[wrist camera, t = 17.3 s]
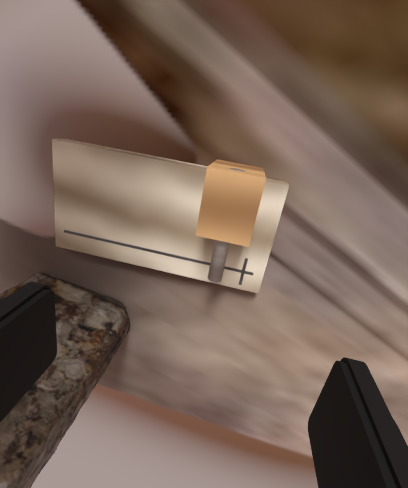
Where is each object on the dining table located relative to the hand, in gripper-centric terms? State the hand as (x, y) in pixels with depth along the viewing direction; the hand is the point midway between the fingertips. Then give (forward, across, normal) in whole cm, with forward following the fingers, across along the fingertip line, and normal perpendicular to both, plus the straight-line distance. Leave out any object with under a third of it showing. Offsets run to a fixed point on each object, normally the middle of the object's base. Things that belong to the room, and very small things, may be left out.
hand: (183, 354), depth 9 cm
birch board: (+20, +6, +2) cm, 21 cm away
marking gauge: (+18, 0, 0) cm, 18 cm away
